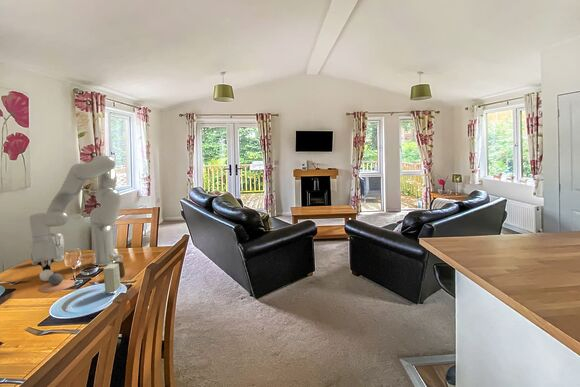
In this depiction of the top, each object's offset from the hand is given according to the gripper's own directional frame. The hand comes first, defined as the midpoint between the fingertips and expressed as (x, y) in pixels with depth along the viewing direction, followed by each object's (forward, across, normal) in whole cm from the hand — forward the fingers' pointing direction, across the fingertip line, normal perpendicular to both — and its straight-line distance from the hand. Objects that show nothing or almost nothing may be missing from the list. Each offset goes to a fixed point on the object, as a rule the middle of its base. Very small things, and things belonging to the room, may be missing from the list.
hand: (47, 273), depth 170 cm
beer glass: (+2, -12, -27) cm, 30 cm away
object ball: (-1, 0, +15) cm, 15 cm away
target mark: (+2, +1, +18) cm, 18 cm away
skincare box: (+3, -13, +46) cm, 47 cm away
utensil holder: (+3, -22, +29) cm, 37 cm away
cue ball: (-1, +2, +6) cm, 6 cm away
